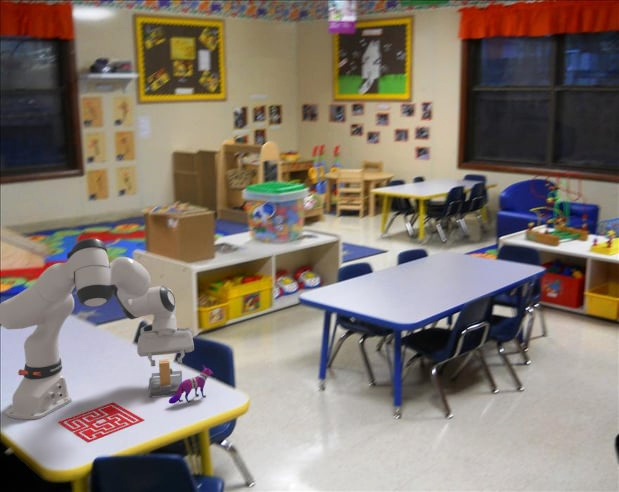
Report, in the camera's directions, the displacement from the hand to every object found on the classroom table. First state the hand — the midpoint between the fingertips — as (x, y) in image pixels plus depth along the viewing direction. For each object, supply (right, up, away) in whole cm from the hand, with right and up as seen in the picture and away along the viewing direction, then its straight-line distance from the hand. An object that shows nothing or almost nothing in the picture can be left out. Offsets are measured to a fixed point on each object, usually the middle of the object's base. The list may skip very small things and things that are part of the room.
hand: (166, 364), depth 261 cm
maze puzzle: (-17, -15, -24) cm, 33 cm away
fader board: (-1, -8, +3) cm, 9 cm away
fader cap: (0, -7, -1) cm, 8 cm away
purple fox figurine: (+11, -11, -9) cm, 18 cm away
